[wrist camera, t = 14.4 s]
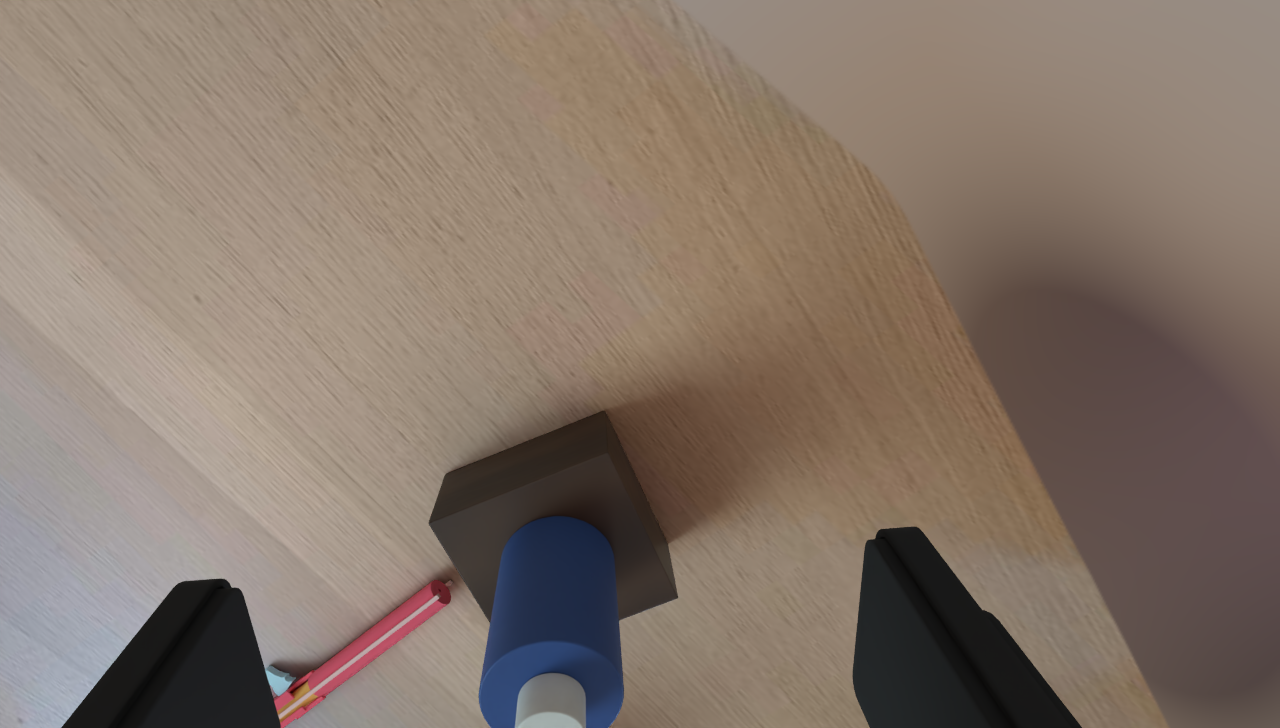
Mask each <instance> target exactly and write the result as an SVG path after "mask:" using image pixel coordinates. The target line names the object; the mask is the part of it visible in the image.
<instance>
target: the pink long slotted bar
mask: <svg viewBox="0 0 1280 728" xmlns="http://www.w3.org/2000/svg"><path fill="white" fill-rule="evenodd" d="M452 584H453V582H452V581H451V580H450V581H448V582H447V583H446V584H444V583H442V582H441V581H439V580H434V581H432V582H431V583H429V584H428V585H427V586H425V587H424V588H423V589H421V590H420V591H419V592H418V593H416V594H415V595H414V596H412V597H411V598H410V599H408V600H407V601H406V602H404V603H403V604H402V605H401V606H399V607H398V608H397V609H395V610H394V611H393V612H391V613H390V614H389V615H387V616H386V617H385V618H383V619H382V620H381V621H380V622H378V623H377V624H376V625H374V626H373V627H372V628H370V629H369V630H368V631H366V632H365V633H364V634H363V635H361V636H360V637H359V638H357V639H356V640H355V641H353V642H352V643H351V644H349V645H348V646H347V647H346V648H344V649H343V650H342V651H340V652H339V653H338V654H336V655H335V656H334V657H332V658H331V659H330V660H328V661H327V662H326V663H325V664H323V665H322V666H321V667H319V668H318V669H317V670H315V671H314V670H312V671H311V672H309V673H308V674H307V675H305V676H304V677H301V678H300V679H299V680H297V681H296V682H295V683H294V681H295V679H296V677H294V678H293V677H290V675H289V673H283V672H281V671H279V670H277V669H276V668H274V667H273V666H269V667H268V668H267V669H265V672H266V675H267V678H268V682H269V685H271V686H272V687H273V690H274V692H275V693H276V694H277V695H278V696H277V697H275V698H274V703H275V706H276V710H277V713H278V716H279V720H280V724H281V728H284V727H285V726H286V725H288V724H289V723H290V722H292V721H293V720H294V719H298V718H300V717H301V716H302V715H304V714H305V713H306V712H308V711H309V710H310V709H312V708H313V707H314V706H316V705H317V704H318V703H320V702H321V701H322V700H324V699H325V698H326V697H325V696H326V695H328V694H329V693H330V692H332V691H333V690H334V689H336V688H337V687H338V686H340V685H341V684H342V683H344V682H345V681H346V680H348V679H349V678H350V677H352V676H353V675H354V674H356V673H357V672H358V671H360V670H361V669H362V668H364V667H365V666H366V665H368V664H369V663H370V662H372V661H373V660H374V659H376V658H377V657H378V656H380V655H381V654H382V653H384V652H385V651H386V650H388V649H389V648H390V647H392V646H393V645H394V644H395V643H397V642H398V641H399V640H401V639H402V638H403V637H405V636H406V635H407V634H409V633H410V632H411V631H413V630H414V629H415V628H417V627H418V626H419V625H421V624H422V623H423V622H425V621H426V620H427V619H429V618H430V617H431V616H433V615H434V614H435V613H437V612H438V611H439V610H441V609H442V608H443V607H445V606H446V605H447V604H449V603H450V601H451V595H450V592H449V590H448V587H449V586H450V585H452ZM307 679H308V681H306V680H307ZM293 683H294V684H293Z"/></svg>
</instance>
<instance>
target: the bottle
mask: <svg viewBox="0 0 1280 728" xmlns="http://www.w3.org/2000/svg"><path fill="white" fill-rule="evenodd" d="M623 698H624V685H623V672H622V658H621V644H620V630H619V616H618V603H617V589H616V575H615V561H614V554H613V551H612V548H611V546H610V544H609V542H608V540H607V539H606V537H605V536H604V535H603V534H602V533H601V532H600V531H599V530H598V529H596V528H595V527H594V526H592V525H591V524H589V523H587V522H585V521H582V520H579V519H576V518H572V517H565V516H552V517H545V518H541V519H537V520H535V521H532V522H530V523H528V524H526V525H524V526H523V527H522V528H520V529H519V530H518V531H516V532H515V533H514V534H513V535H512V536H511V538H510V539H509V540H508V542H507V543H506V545H505V547H504V549H503V552H502V556H501V561H500V567H499V573H498V580H497V586H496V592H495V598H494V604H493V610H492V616H491V622H490V628H489V634H488V640H487V646H486V652H485V658H484V664H483V671H482V677H481V683H480V689H479V704H480V708H481V711H482V714H483V716H484V718H485V720H486V721H487V723H488V724H489V726H490V727H491V728H608V727H609V726H610V725H611V724H612V723H613V722H614V720H615V719H616V717H617V715H618V714H619V712H620V709H621V706H622V703H623Z"/></svg>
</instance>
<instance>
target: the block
mask: <svg viewBox="0 0 1280 728" xmlns="http://www.w3.org/2000/svg"><path fill="white" fill-rule="evenodd" d="M552 516H565V517H572V518H576V519H579V520H582V521H585V522H587V523H589V524H591V525H592V526H594V527H595V528H596V529H598V530H599V531H600V532H601V533H602V534H603V535H604V536H605V537H606V539H607V540H608V542H609V544H610V546H611V548H612V551H613V554H614V561H615V575H616V589H617V603H618V616H619V620H622V619H624V618H627V617H630V616H632V615H635V614H637V613H640V612H643V611H645V610H648V609H651V608H653V607H656V606H659V605H661V604H664V603H667V602H669V601H672V600H674V599H677V598H678V595H677V589H676V584H675V579H674V574H673V568H672V563H671V558H670V553H669V547H668V543H667V541H666V539H665V537H664V535H663V533H662V531H661V529H660V526H659V524H658V522H657V520H656V518H655V516H654V514H653V512H652V509H651V507H650V505H649V503H648V501H647V499H646V497H645V495H644V492H643V490H642V488H641V486H640V484H639V482H638V480H637V477H636V475H635V473H634V471H633V469H632V467H631V465H630V463H629V460H628V458H627V456H626V454H625V452H624V450H623V448H622V446H621V443H620V441H619V439H618V437H617V435H616V433H615V431H614V429H613V426H612V424H611V422H610V420H609V418H608V416H607V414H606V412H605V411H602V412H600V413H597V414H595V415H592V416H590V417H587V418H585V419H582V420H580V421H577V422H575V423H573V424H570V425H568V426H565V427H563V428H560V429H558V430H555V431H553V432H550V433H548V434H545V435H543V436H540V437H538V438H535V439H533V440H530V441H528V442H525V443H523V444H520V445H518V446H515V447H513V448H510V449H508V450H505V451H503V452H500V453H498V454H495V455H493V456H490V457H488V458H485V459H483V460H480V461H478V462H475V463H473V464H470V465H468V466H465V467H463V468H460V469H458V470H455V471H453V472H450V473H448V474H446V475H445V476H444V479H443V482H442V485H441V488H440V491H439V494H438V497H437V500H436V503H435V506H434V509H433V511H432V514H431V517H430V520H429V525H430V527H431V529H432V530H433V532H434V533H435V535H436V537H437V538H438V540H439V542H440V543H441V545H442V546H443V548H444V550H445V551H446V553H447V554H448V556H449V558H450V559H451V561H452V562H453V564H454V566H455V567H456V569H457V570H458V572H459V574H460V575H461V577H462V579H463V580H464V582H465V583H466V585H467V587H468V588H469V590H470V591H471V593H472V595H473V596H474V598H475V599H476V601H477V603H478V604H479V606H480V608H481V609H482V611H483V612H484V614H485V616H486V617H487V619H488V620H489V622H491V616H492V610H493V604H494V598H495V592H496V586H497V580H498V573H499V567H500V561H501V556H502V552H503V549H504V547H505V545H506V543H507V542H508V540H509V539H510V538H511V536H512V535H513V534H514V533H515V532H516V531H518V530H519V529H520V528H522V527H523V526H524V525H526V524H528V523H530V522H532V521H535V520H537V519H541V518H545V517H552Z"/></svg>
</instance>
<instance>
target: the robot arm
mask: <svg viewBox="0 0 1280 728" xmlns="http://www.w3.org/2000/svg"><path fill="white" fill-rule="evenodd" d="M853 685H854V690H855V694H856V697H857V700H858V702H859V704H860V707H861V709H862V711H863V713H864V716H865V718H866V720H867V722H868V724H869V727H870V728H1082V727H1081V726H1080V724H1079V723H1078V722H1077V721H1076V719H1075V718H1074V717H1073V715H1072V714H1071V713H1070V712H1069V710H1068V709H1067V708H1066V706H1065V705H1064V704H1063V703H1062V701H1061V700H1060V699H1059V697H1058V696H1057V695H1056V694H1055V692H1054V691H1053V690H1052V688H1051V687H1050V686H1049V685H1048V683H1047V682H1046V681H1045V679H1044V678H1043V677H1042V676H1041V674H1040V673H1039V672H1038V670H1037V669H1036V668H1035V667H1034V665H1033V664H1032V663H1031V661H1030V660H1029V659H1028V657H1027V656H1026V655H1025V654H1024V652H1023V651H1022V650H1021V648H1020V647H1019V646H1018V645H1017V643H1016V642H1015V641H1014V639H1013V638H1012V637H1011V636H1010V634H1009V633H1008V632H1007V630H1006V629H1005V628H1004V627H1003V625H1002V624H1001V623H1000V621H999V620H998V619H997V618H996V617H995V616H994V615H993V614H991V613H989V612H987V611H985V610H983V611H982V609H981V608H980V607H979V605H978V604H977V603H976V601H975V600H974V599H973V598H972V596H971V595H970V594H969V592H968V591H967V590H966V588H965V587H964V586H963V584H962V583H961V582H960V580H959V579H958V578H957V576H956V575H955V574H954V573H953V571H952V570H951V569H950V567H949V566H948V565H947V563H946V562H945V561H944V559H943V558H942V557H941V555H940V554H939V553H938V552H937V550H936V549H935V548H934V546H933V545H932V544H931V542H930V541H929V540H928V538H927V537H926V536H925V534H924V533H923V532H922V531H921V530H920V529H919V528H917V527H904V528H890V529H881V530H879V531H878V532H877V534H876V538H875V539H872V540H868V541H867V542H866V545H865V551H864V561H863V572H862V582H861V592H860V602H859V613H858V623H857V633H856V644H855V654H854V664H853ZM62 728H281V724H280V720H279V716H278V713H277V710H276V706H275V703H274V699H273V696H272V692H271V689H270V685H269V682H268V678H267V675H266V672H265V668H264V665H263V661H262V658H261V654H260V651H259V647H258V644H257V641H256V637H255V634H254V630H253V627H252V623H251V620H250V616H249V613H248V609H247V606H246V603H245V599H244V596H243V593H242V591H241V590H240V589H239V588H231V585H230V583H229V582H228V581H227V580H225V579H209V580H196V581H184V582H181V583H178V584H177V585H176V586H175V587H174V588H173V589H172V590H171V592H170V593H169V594H168V595H167V597H166V598H165V599H164V600H163V602H162V603H161V604H160V605H159V607H158V608H157V609H156V610H155V612H154V613H153V614H152V615H151V617H150V618H149V619H148V620H147V622H146V623H145V624H144V625H143V627H142V628H141V629H140V630H139V632H138V633H137V634H136V635H135V637H134V638H133V639H132V640H131V641H130V643H129V644H128V645H127V646H126V648H125V649H124V650H123V651H122V653H121V654H120V655H119V656H118V658H117V659H116V660H115V661H114V663H113V664H112V665H111V666H110V668H109V669H108V670H107V671H106V673H105V674H104V675H103V676H102V678H101V679H100V680H99V681H98V683H97V684H96V685H95V686H94V688H93V689H92V690H91V691H90V693H89V694H88V695H87V696H86V698H85V699H84V700H83V701H82V703H81V704H80V705H79V706H78V708H77V709H76V710H75V711H74V713H73V714H72V715H71V716H70V718H69V719H68V720H67V721H66V723H65V724H64V725H63V726H62Z"/></svg>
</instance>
